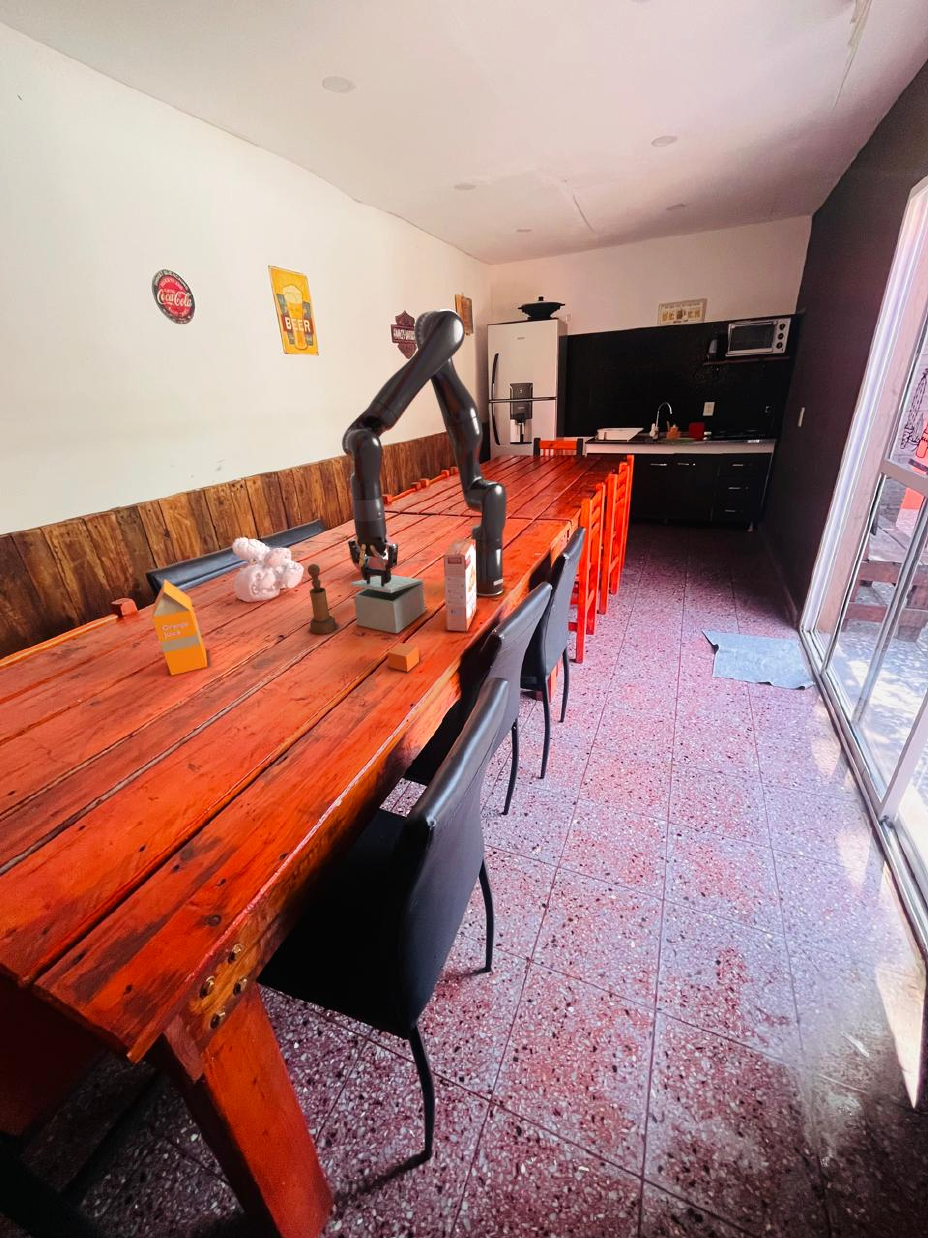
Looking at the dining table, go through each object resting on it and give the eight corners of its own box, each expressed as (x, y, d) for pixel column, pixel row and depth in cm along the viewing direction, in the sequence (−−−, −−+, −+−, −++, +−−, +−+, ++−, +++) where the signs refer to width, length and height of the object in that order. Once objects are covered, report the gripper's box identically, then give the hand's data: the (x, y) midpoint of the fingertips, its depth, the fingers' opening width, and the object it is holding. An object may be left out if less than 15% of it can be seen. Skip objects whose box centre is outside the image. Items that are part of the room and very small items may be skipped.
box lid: (390, 592, 122) (390, 573, 121) (350, 585, 127) (349, 566, 126) (423, 582, 135) (423, 564, 134) (385, 576, 141) (385, 559, 139)
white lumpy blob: (205, 576, 145) (244, 526, 154) (245, 613, 161) (278, 566, 170) (251, 588, 138) (289, 535, 146) (288, 626, 154) (321, 576, 162)
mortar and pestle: (341, 625, 133) (331, 562, 125) (326, 636, 128) (314, 570, 120) (322, 621, 136) (311, 559, 128) (306, 631, 130) (293, 567, 123)
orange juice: (170, 675, 113) (143, 595, 104) (171, 658, 120) (145, 582, 111) (208, 666, 116) (184, 587, 107) (206, 650, 123) (184, 575, 114)
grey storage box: (396, 633, 128) (393, 602, 124) (357, 625, 133) (353, 595, 129) (425, 611, 139) (423, 582, 135) (388, 604, 145) (385, 576, 141)
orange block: (401, 657, 117) (399, 642, 115) (419, 661, 115) (417, 646, 113) (389, 667, 113) (387, 652, 111) (407, 672, 111) (406, 656, 109)
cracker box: (468, 632, 127) (466, 555, 118) (445, 631, 128) (441, 554, 119) (478, 610, 139) (476, 538, 130) (457, 608, 140) (454, 537, 131)
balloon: (402, 560, 180) (398, 519, 173) (395, 580, 162) (390, 535, 155) (359, 562, 180) (354, 520, 173) (348, 582, 162) (341, 537, 155)
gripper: (402, 514, 119) (408, 580, 127) (355, 510, 125) (363, 572, 133) (385, 522, 113) (391, 590, 121) (336, 517, 119) (345, 582, 127)
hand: (376, 580), depth 127 cm, fingers closed on box lid, 5 cm apart
